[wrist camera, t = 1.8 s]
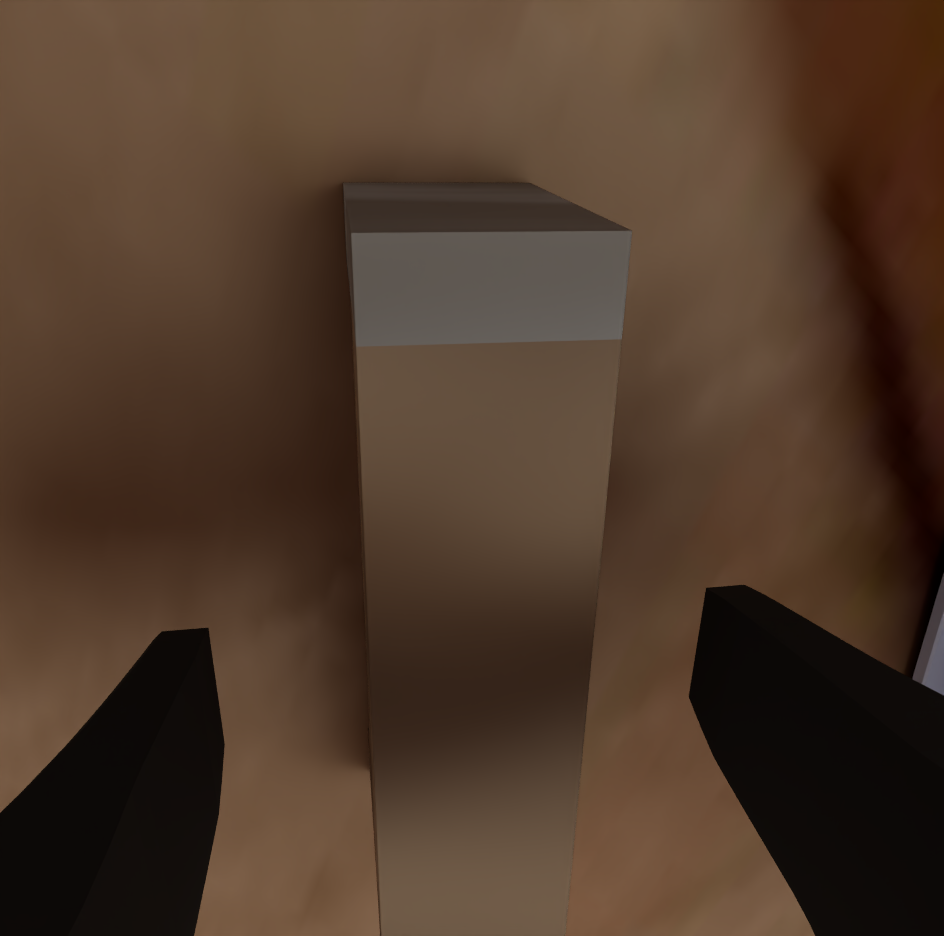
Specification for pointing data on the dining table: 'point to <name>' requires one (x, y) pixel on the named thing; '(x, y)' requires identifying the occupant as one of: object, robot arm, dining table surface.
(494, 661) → the wooden arch block
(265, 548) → the dining table surface
